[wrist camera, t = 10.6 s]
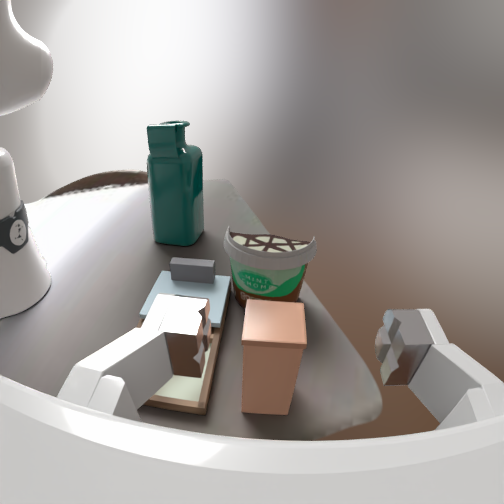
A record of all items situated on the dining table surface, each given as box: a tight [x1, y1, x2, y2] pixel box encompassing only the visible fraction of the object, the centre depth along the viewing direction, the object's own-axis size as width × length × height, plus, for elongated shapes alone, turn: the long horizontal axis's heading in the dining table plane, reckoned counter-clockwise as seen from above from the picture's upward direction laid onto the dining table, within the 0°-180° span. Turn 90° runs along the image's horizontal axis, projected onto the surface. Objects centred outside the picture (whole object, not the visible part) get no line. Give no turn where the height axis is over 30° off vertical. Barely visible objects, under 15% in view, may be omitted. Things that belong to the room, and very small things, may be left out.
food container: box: [224, 226, 317, 309], centre depth 41 cm, size 12×6×10 cm, turn 79°
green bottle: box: [147, 121, 204, 246], centre depth 54 cm, size 10×8×22 cm
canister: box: [242, 299, 307, 415], centre depth 28 cm, size 5×5×11 cm
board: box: [136, 282, 231, 415], centre depth 37 cm, size 10×21×1 cm, turn 176°
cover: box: [139, 257, 230, 328], centre depth 41 cm, size 10×10×4 cm
